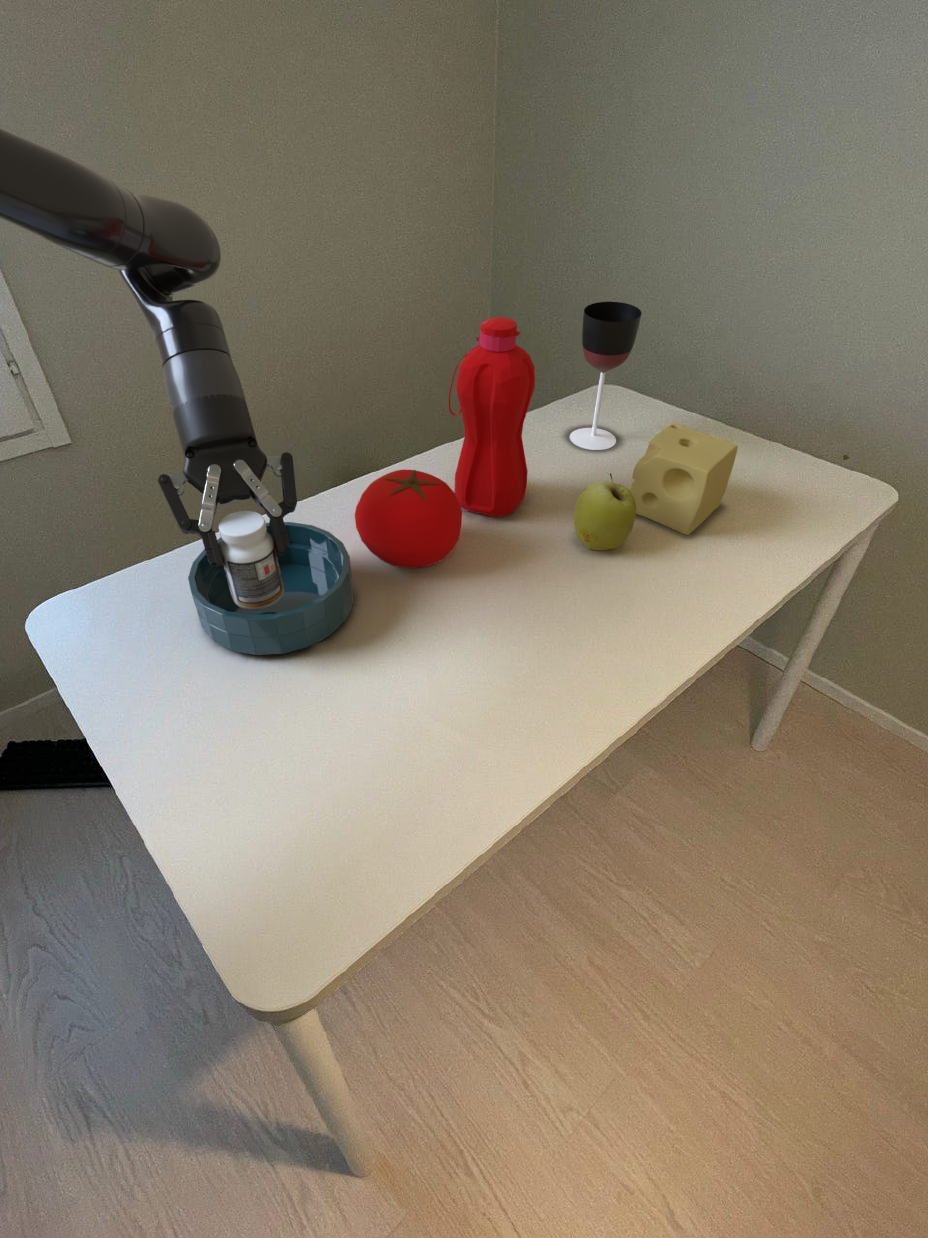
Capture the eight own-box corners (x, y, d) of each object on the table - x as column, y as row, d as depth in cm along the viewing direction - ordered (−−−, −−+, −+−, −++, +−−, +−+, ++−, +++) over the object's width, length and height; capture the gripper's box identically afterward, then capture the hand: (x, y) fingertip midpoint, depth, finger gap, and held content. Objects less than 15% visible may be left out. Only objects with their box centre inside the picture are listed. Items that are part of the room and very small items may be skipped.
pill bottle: (295, 591, 80) (282, 518, 73) (259, 619, 76) (241, 545, 70) (258, 574, 82) (242, 501, 75) (221, 600, 78) (201, 526, 72)
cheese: (622, 510, 99) (635, 446, 92) (659, 480, 105) (673, 418, 98) (690, 539, 94) (709, 473, 87) (724, 505, 100) (744, 442, 94)
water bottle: (460, 476, 105) (463, 301, 88) (530, 491, 102) (547, 313, 85) (436, 507, 99) (434, 325, 82) (510, 525, 96) (524, 340, 79)
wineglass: (557, 440, 114) (572, 312, 100) (586, 421, 119) (605, 297, 105) (599, 456, 110) (621, 326, 97) (627, 436, 115) (652, 310, 102)
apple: (551, 536, 92) (576, 464, 87) (587, 530, 98) (613, 462, 93) (597, 565, 88) (626, 491, 83) (632, 557, 93) (662, 487, 88)
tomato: (436, 594, 85) (435, 517, 77) (343, 564, 89) (334, 489, 81) (476, 542, 93) (479, 467, 85) (389, 517, 97) (385, 444, 89)
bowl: (214, 678, 74) (201, 636, 70) (191, 581, 86) (179, 540, 82) (373, 634, 79) (369, 594, 75) (331, 549, 91) (326, 509, 87)
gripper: (131, 403, 68) (177, 572, 68) (279, 381, 72) (323, 539, 72) (141, 430, 75) (183, 582, 75) (276, 408, 80) (315, 552, 80)
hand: (252, 560), depth 74 cm, fingers closed on pill bottle, 5 cm apart
